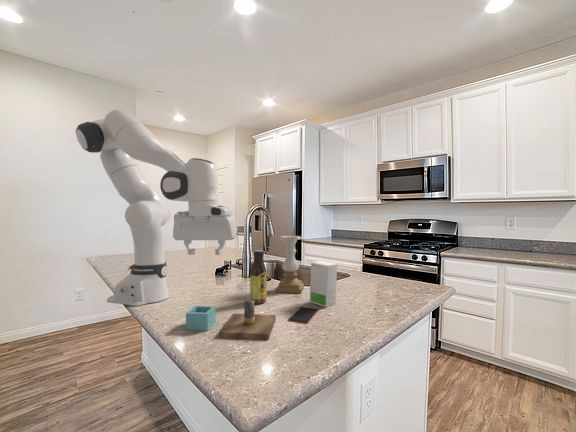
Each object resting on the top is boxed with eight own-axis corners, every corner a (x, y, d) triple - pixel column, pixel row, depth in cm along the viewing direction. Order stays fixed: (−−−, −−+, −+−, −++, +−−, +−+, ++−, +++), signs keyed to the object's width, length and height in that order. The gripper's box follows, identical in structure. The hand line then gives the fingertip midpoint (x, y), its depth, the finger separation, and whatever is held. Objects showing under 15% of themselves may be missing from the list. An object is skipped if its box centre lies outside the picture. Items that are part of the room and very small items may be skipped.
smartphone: (319, 309, 100) (307, 323, 87) (319, 310, 100) (307, 325, 87) (300, 306, 103) (286, 320, 90) (300, 308, 103) (286, 322, 90)
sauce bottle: (263, 305, 104) (263, 252, 104) (247, 304, 106) (247, 251, 105) (268, 299, 111) (268, 249, 111) (253, 298, 112) (253, 249, 112)
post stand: (218, 337, 78) (218, 308, 78) (233, 318, 92) (233, 293, 92) (268, 339, 77) (268, 310, 76) (275, 319, 91) (275, 295, 90)
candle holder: (304, 287, 130) (304, 235, 129) (301, 293, 119) (301, 237, 118) (280, 285, 132) (280, 235, 131) (275, 292, 121) (276, 237, 120)
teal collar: (185, 329, 83) (185, 313, 83) (195, 321, 89) (195, 305, 89) (207, 330, 82) (207, 313, 82) (215, 322, 89) (215, 306, 89)
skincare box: (309, 302, 107) (309, 262, 107) (319, 298, 112) (319, 260, 112) (327, 307, 102) (327, 265, 102) (337, 303, 107) (337, 262, 106)
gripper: (167, 211, 87) (169, 255, 87) (229, 209, 82) (230, 256, 83) (179, 211, 93) (181, 252, 93) (237, 209, 88) (238, 253, 89)
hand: (204, 254), depth 88 cm, fingers open, 8 cm apart
